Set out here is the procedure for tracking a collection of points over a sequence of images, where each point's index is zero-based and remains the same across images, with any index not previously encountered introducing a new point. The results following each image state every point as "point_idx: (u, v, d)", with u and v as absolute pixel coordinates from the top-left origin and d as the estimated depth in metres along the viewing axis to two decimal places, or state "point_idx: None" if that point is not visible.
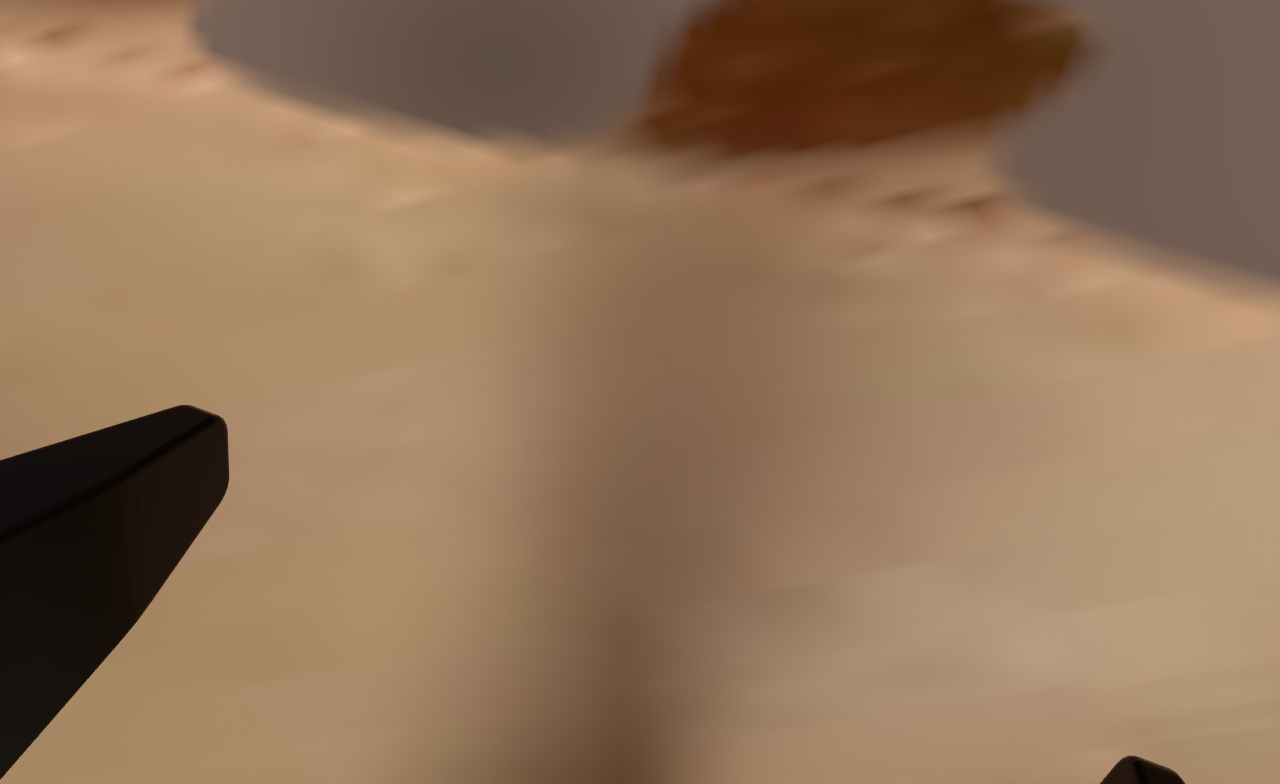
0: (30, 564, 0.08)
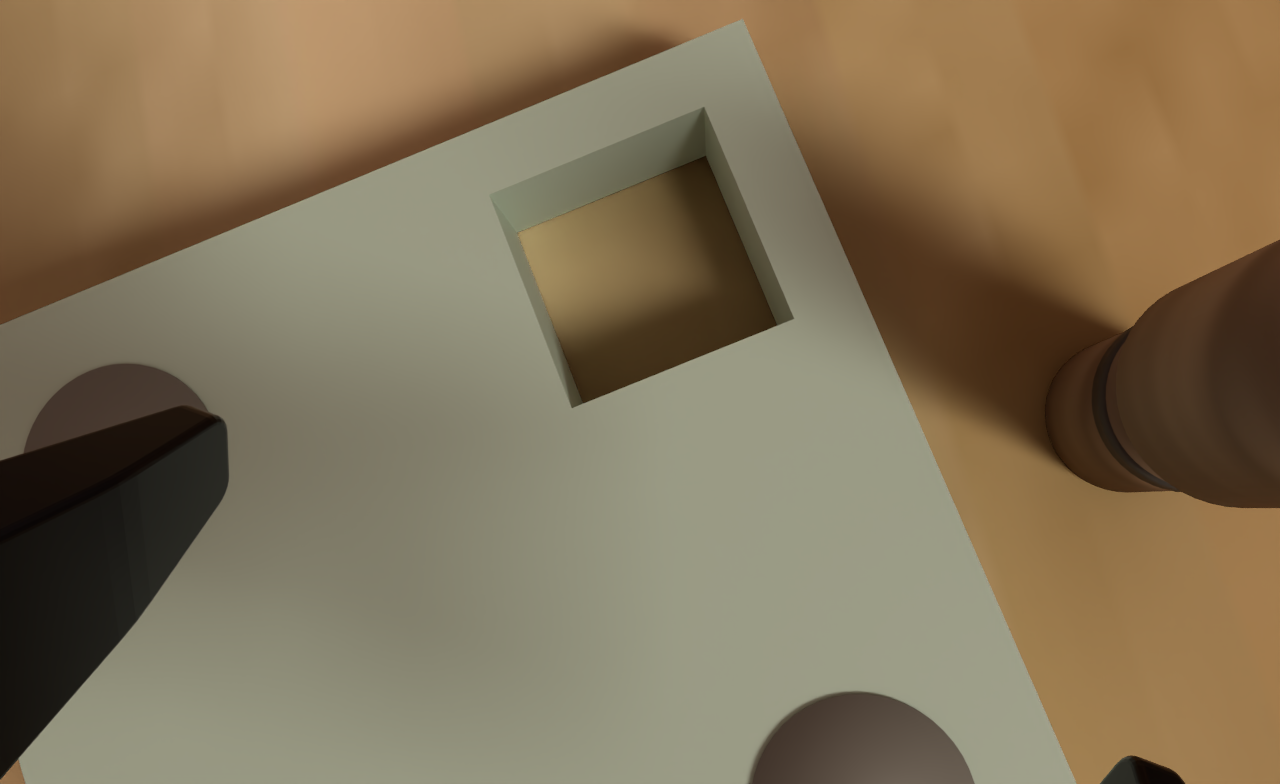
0: (30, 565, 0.08)
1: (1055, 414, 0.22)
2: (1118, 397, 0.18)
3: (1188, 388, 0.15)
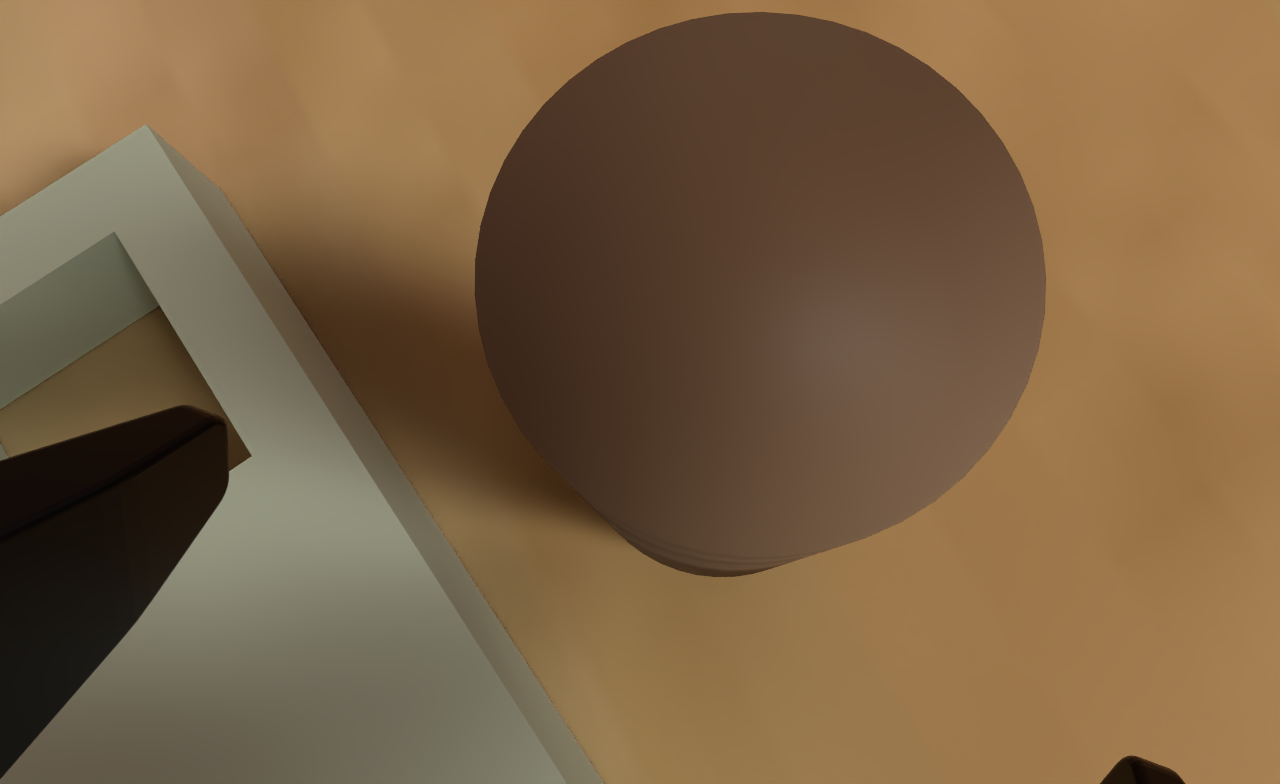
0: (30, 564, 0.08)
1: None
2: None
3: None
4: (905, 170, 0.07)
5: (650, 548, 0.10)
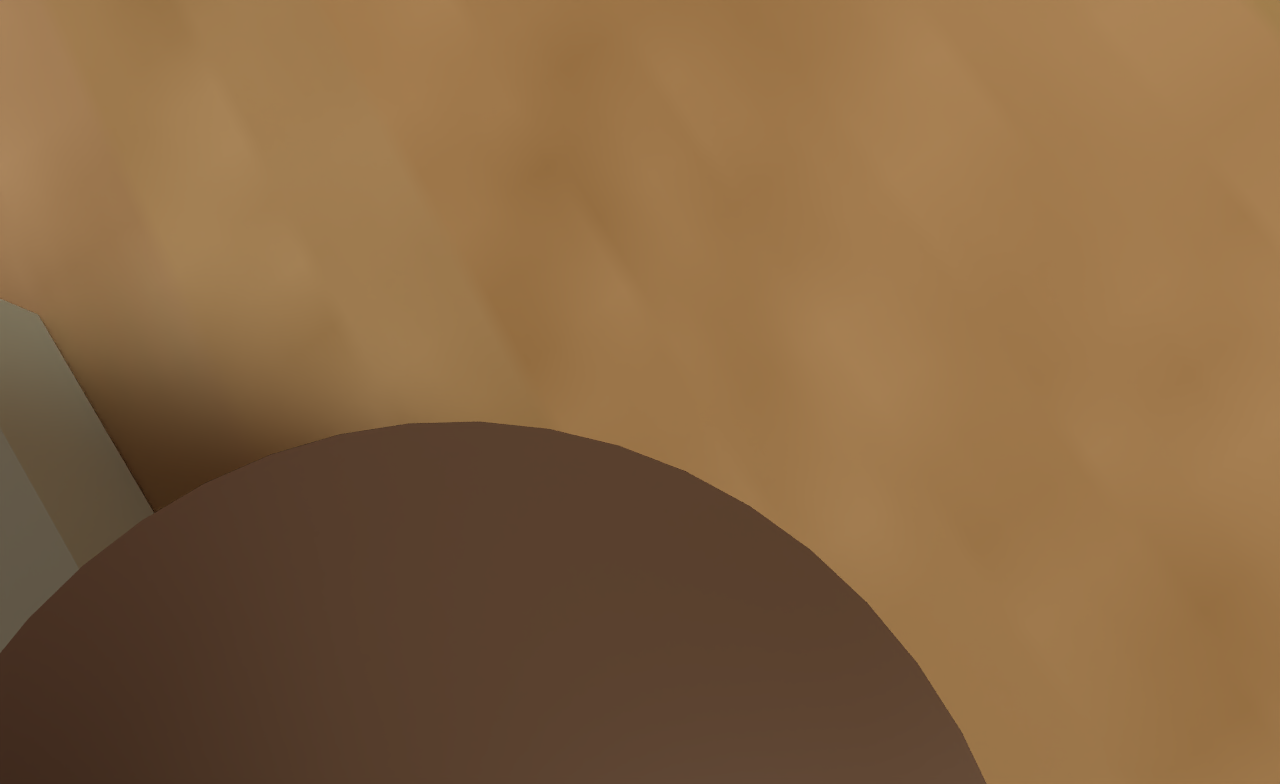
0: None
1: None
2: None
3: None
4: None
5: None
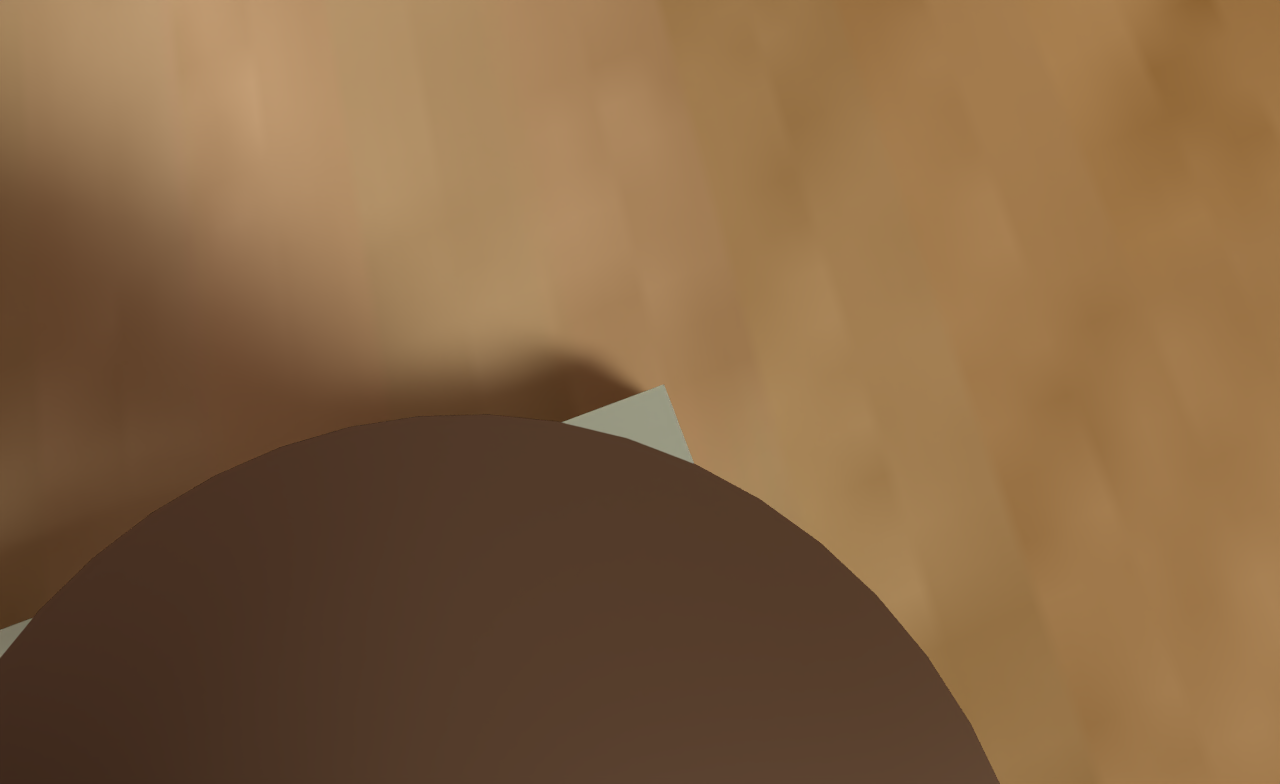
0: None
1: None
2: None
3: None
4: None
5: None
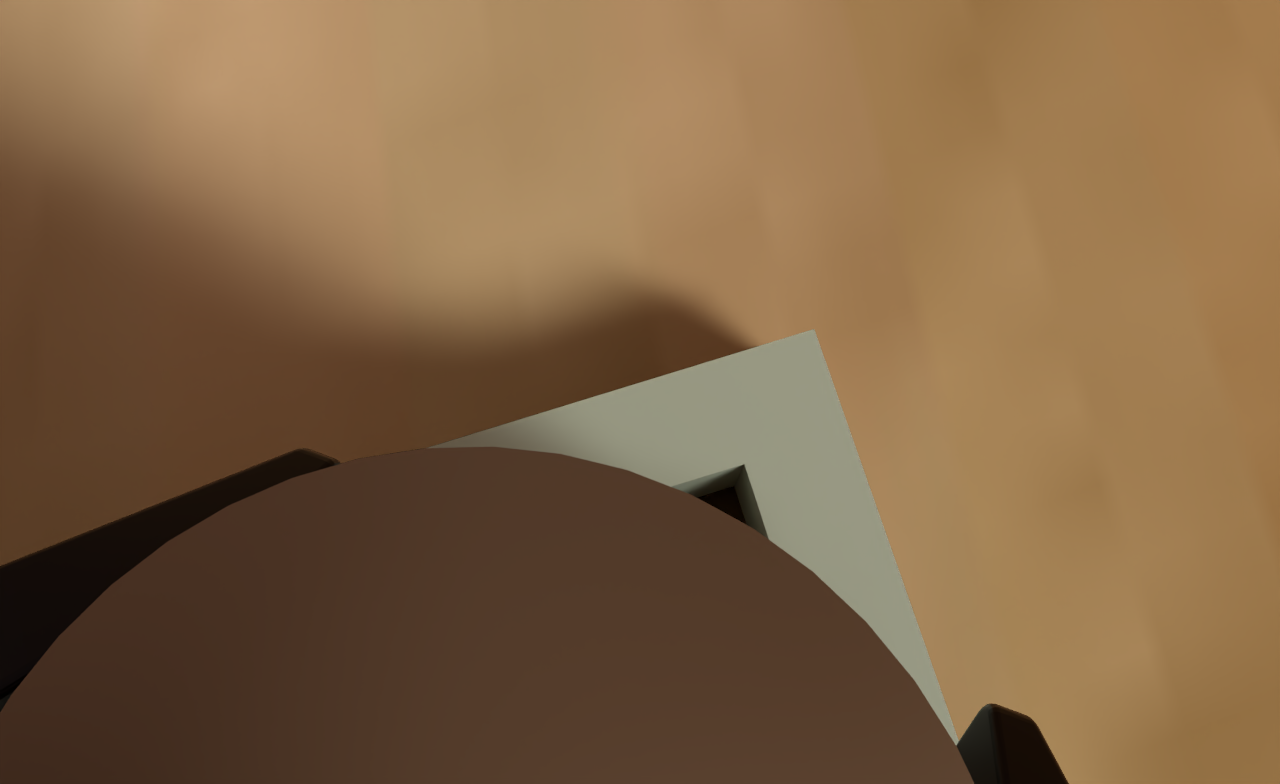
0: None
1: None
2: None
3: None
4: None
5: None
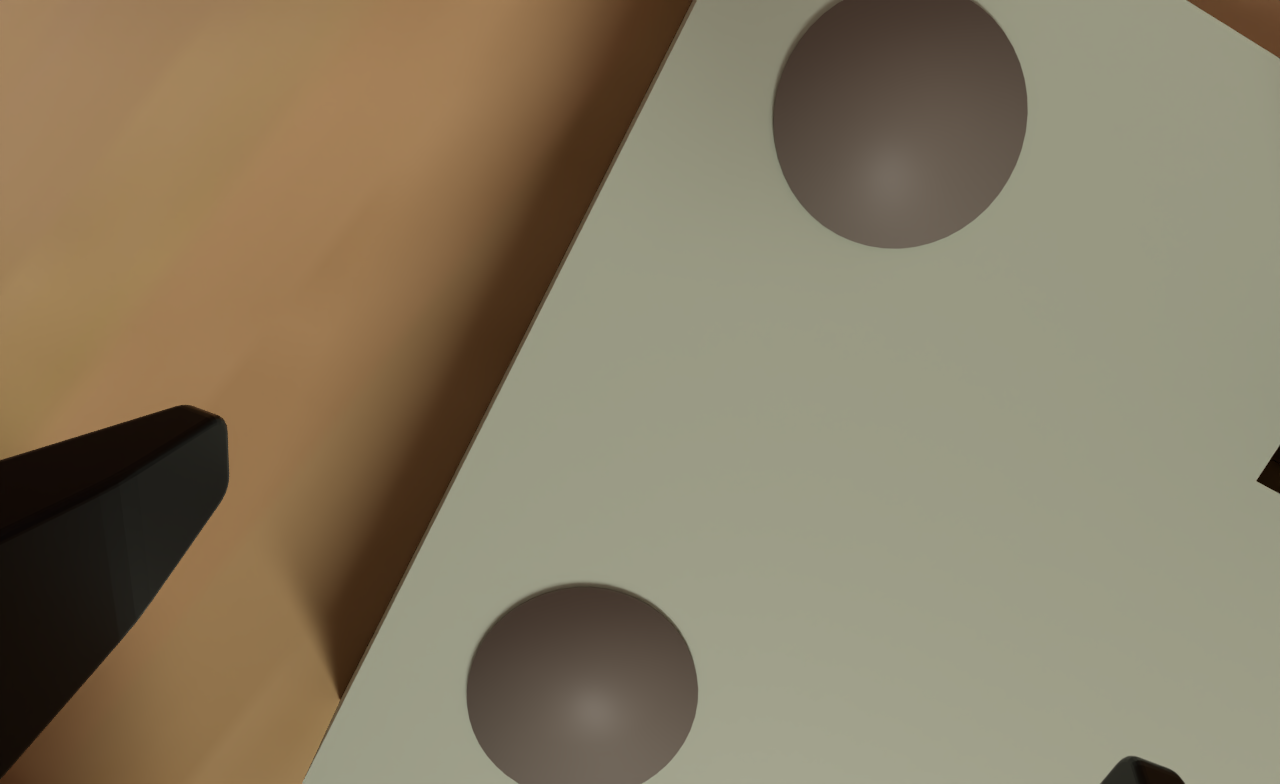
0: (30, 565, 0.08)
1: None
2: None
3: None
4: None
5: None
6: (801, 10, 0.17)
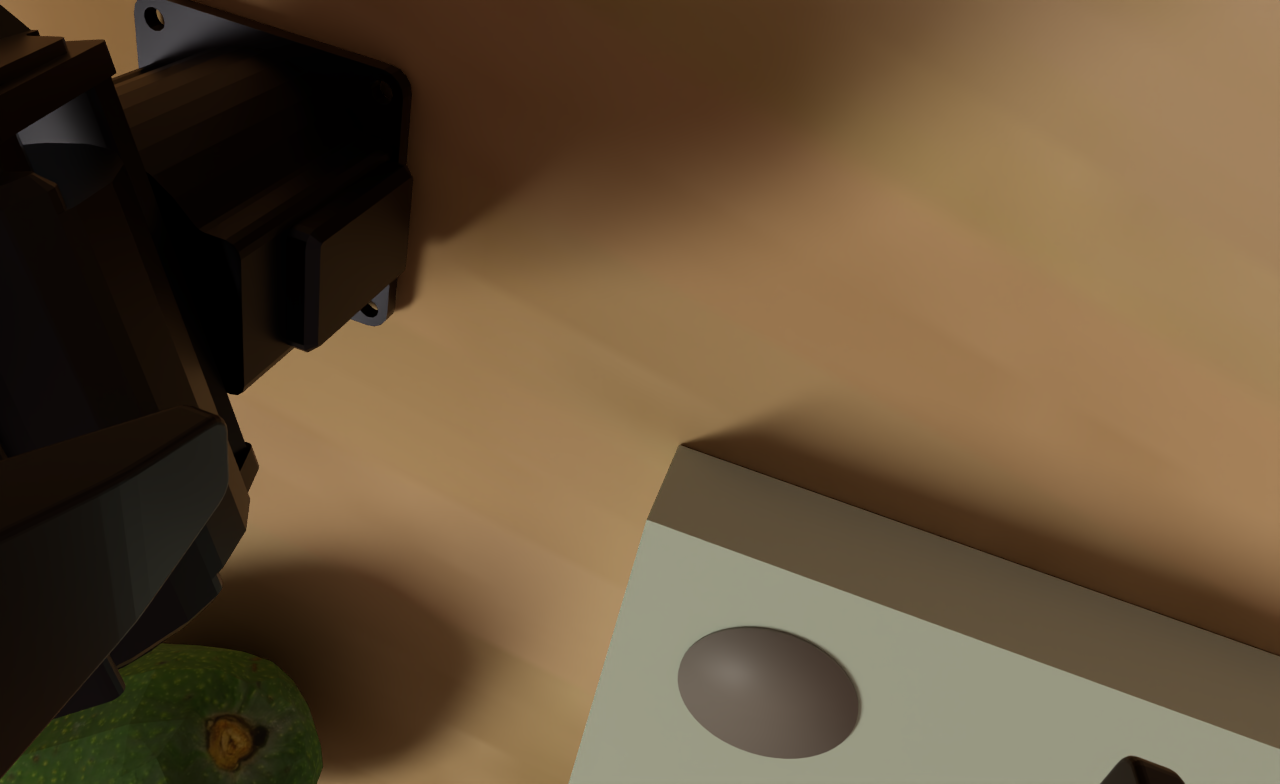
0: (30, 564, 0.08)
1: None
2: None
3: None
4: None
5: None
6: None
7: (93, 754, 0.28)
